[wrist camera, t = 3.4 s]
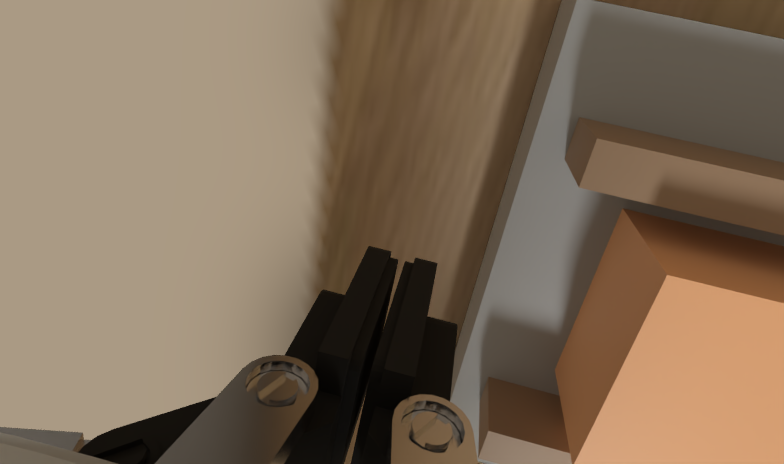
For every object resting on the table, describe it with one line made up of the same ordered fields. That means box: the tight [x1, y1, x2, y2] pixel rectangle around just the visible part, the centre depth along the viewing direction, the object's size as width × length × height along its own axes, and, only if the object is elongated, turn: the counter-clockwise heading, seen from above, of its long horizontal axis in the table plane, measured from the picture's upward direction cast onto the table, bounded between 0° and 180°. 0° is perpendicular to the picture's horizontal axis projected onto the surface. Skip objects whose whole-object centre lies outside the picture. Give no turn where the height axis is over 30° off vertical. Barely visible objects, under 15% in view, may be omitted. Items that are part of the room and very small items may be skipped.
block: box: [555, 208, 784, 464], centre depth 14 cm, size 6×6×4 cm
